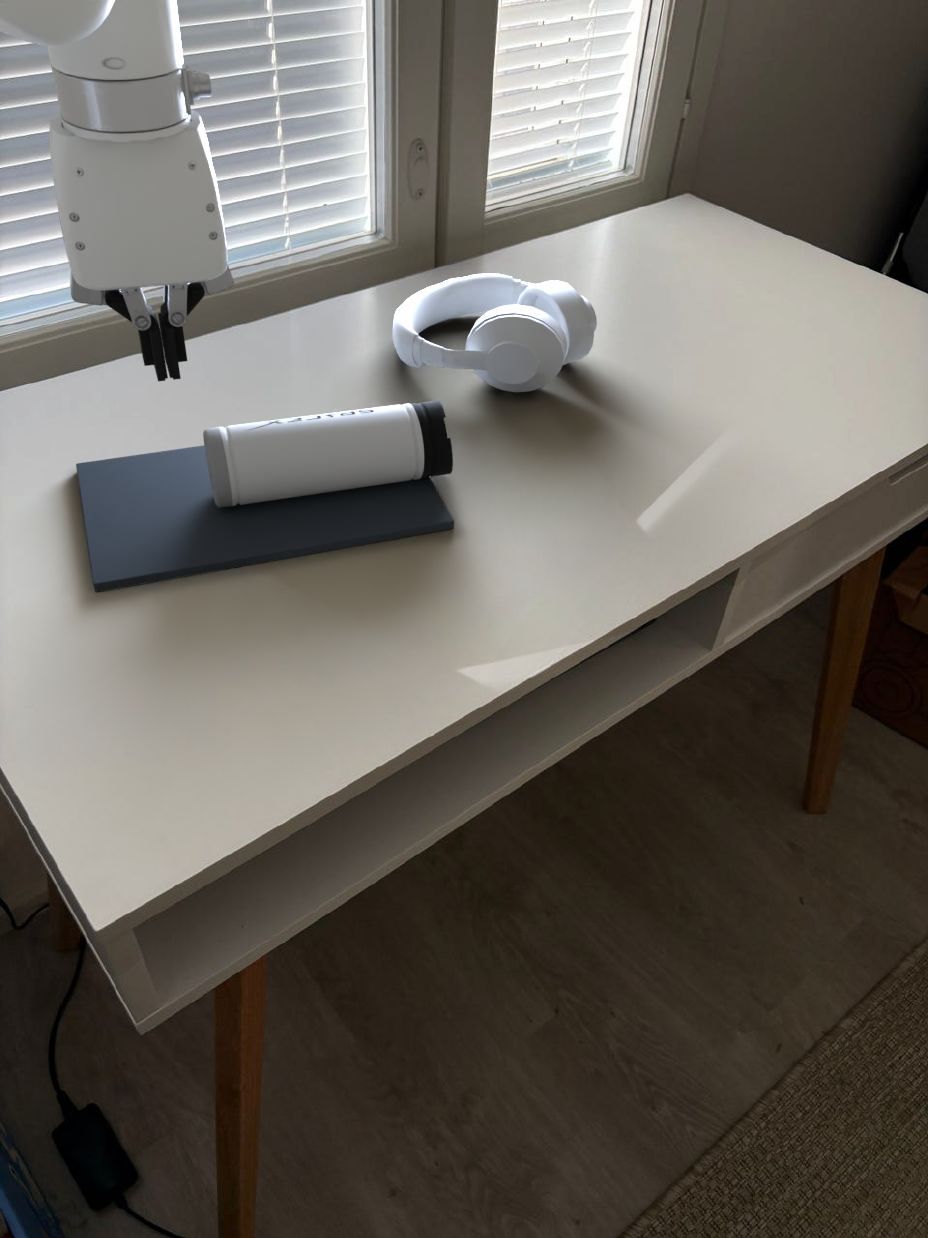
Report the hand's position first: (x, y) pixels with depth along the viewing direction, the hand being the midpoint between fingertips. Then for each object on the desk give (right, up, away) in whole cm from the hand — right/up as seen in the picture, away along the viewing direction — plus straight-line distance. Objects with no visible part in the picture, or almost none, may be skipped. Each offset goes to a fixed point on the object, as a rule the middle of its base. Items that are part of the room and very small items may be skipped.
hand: (166, 370), depth 73 cm
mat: (+5, -8, +10) cm, 14 cm away
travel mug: (+1, -6, +7) cm, 9 cm away
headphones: (+24, +9, +30) cm, 40 cm away
